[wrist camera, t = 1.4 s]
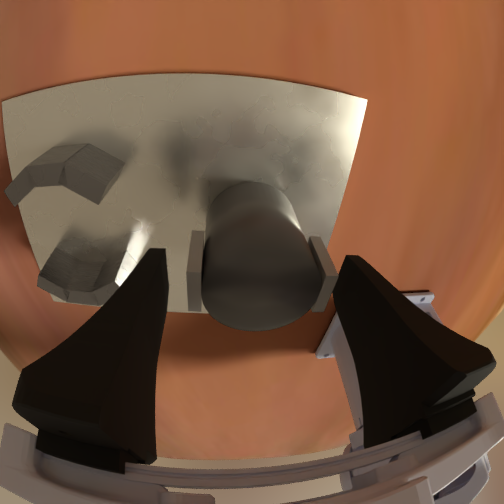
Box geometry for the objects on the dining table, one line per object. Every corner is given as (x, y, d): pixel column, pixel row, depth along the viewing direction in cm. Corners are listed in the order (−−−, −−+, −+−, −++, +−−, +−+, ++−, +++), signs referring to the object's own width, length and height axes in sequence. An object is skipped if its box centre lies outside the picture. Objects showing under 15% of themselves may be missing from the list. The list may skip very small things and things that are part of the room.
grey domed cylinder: (311, 187, 13) (348, 249, 9) (293, 258, 16) (315, 329, 12) (197, 178, 12) (185, 242, 9) (195, 254, 15) (189, 329, 11)
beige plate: (358, 96, 11) (395, 110, 9) (300, 303, 20) (311, 343, 17) (12, 97, 9) (-29, 114, 6) (58, 291, 17) (42, 327, 14)
